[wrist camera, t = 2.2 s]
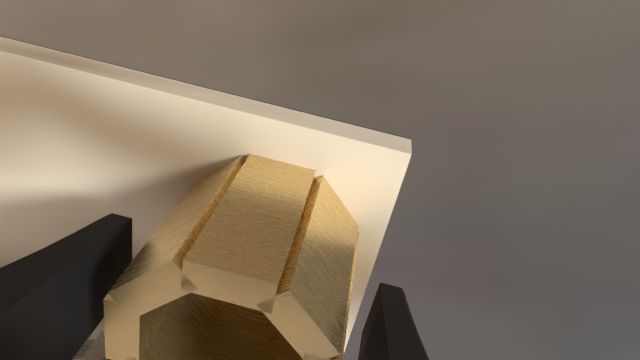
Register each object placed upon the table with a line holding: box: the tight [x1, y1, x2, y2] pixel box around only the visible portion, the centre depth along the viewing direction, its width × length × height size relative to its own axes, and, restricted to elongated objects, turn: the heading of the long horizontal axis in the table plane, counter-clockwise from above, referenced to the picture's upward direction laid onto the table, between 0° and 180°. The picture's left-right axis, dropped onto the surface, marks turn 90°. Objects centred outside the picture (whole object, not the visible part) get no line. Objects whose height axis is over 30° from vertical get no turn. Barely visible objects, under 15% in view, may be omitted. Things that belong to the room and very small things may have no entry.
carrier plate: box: [0, 37, 412, 351], centre depth 19 cm, size 20×14×1 cm
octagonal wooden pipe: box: [103, 154, 359, 360], centre depth 13 cm, size 6×6×5 cm
